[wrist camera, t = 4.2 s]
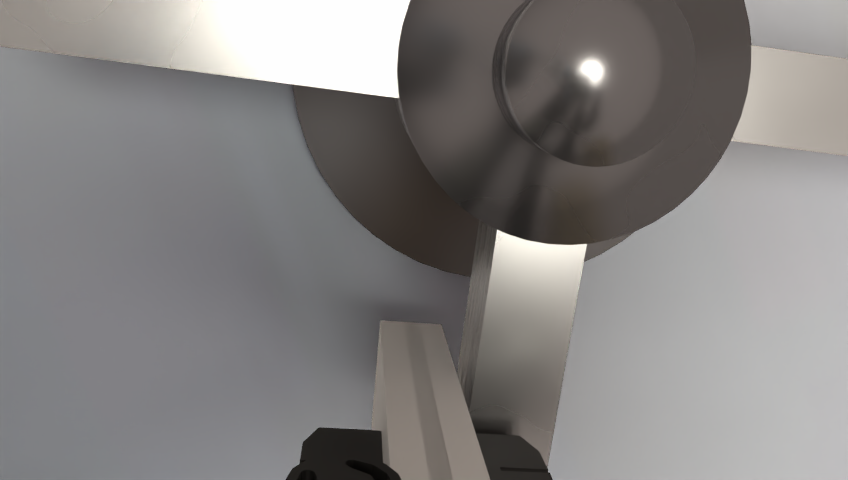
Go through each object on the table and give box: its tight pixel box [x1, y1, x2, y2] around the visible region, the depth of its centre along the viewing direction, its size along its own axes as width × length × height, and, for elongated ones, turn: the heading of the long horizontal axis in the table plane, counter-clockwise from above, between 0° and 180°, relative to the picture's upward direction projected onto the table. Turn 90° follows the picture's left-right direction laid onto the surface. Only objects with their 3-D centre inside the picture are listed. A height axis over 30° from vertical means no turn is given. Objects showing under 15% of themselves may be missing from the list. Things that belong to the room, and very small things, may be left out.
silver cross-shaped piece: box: [0, 0, 848, 467], centre depth 13 cm, size 18×18×6 cm
